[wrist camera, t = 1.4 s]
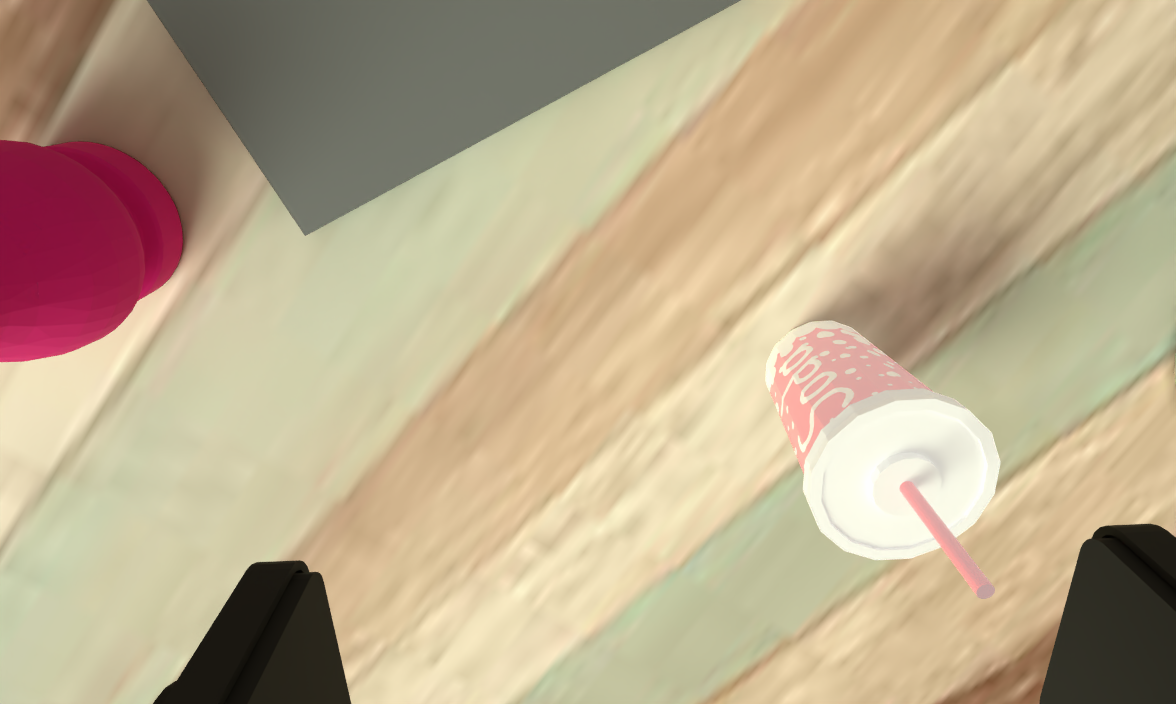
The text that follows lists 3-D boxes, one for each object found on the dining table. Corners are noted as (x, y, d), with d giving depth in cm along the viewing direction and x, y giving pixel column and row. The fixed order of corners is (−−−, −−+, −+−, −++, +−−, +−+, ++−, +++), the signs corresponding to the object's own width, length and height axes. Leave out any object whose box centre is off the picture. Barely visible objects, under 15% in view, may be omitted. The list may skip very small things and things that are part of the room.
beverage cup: (845, 274, 30) (1050, 446, 17) (912, 382, 32) (1142, 608, 19) (720, 357, 31) (822, 573, 18) (792, 455, 33) (931, 713, 20)
